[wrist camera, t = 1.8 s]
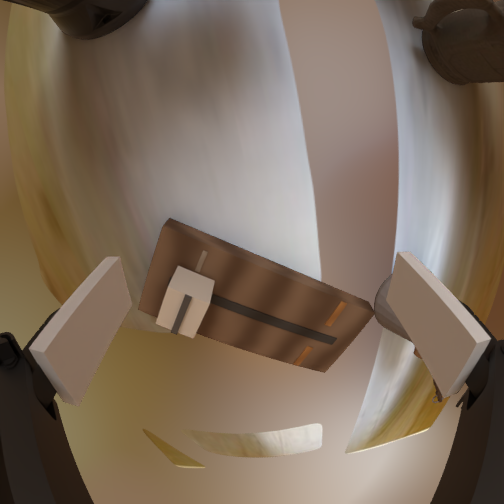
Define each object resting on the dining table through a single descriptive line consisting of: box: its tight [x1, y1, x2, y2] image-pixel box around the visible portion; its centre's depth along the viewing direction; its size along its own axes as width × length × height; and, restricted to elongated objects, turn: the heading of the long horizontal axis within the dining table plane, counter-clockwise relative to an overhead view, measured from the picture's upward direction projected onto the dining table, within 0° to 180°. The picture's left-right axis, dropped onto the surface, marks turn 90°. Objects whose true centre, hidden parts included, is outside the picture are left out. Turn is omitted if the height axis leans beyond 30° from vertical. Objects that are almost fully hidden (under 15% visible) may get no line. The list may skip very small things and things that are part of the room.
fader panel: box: [138, 218, 375, 373], centre depth 39 cm, size 32×14×3 cm, turn 65°
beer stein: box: [412, 0, 504, 85], centre depth 15 cm, size 15×11×20 cm
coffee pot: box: [374, 271, 444, 403], centre depth 35 cm, size 21×12×15 cm, turn 28°
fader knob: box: [156, 266, 215, 338], centre depth 33 cm, size 5×6×5 cm
